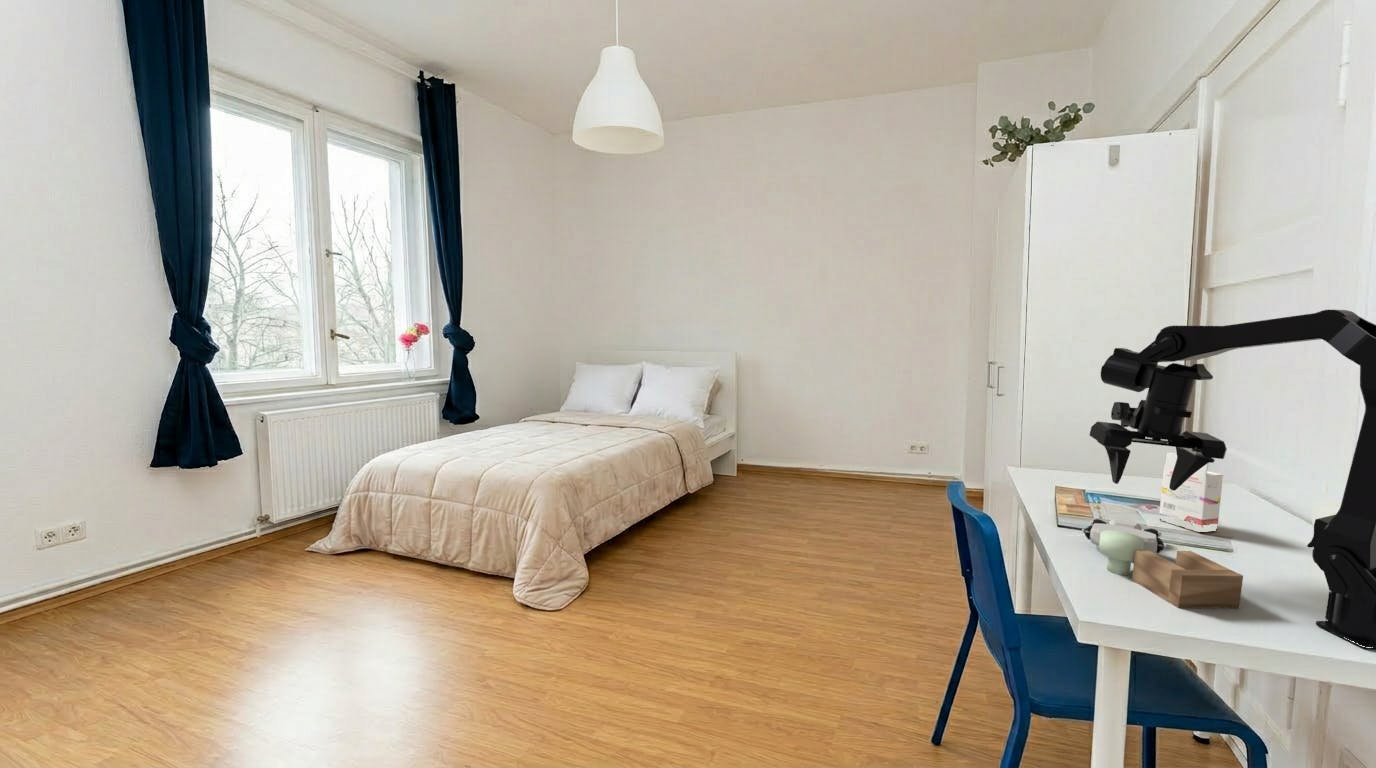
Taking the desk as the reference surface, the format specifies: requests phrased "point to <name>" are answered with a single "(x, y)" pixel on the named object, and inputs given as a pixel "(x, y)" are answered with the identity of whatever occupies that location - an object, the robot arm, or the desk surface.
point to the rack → (1188, 580)
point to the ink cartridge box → (1192, 495)
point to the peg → (1119, 550)
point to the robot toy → (1131, 527)
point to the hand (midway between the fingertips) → (1143, 486)
